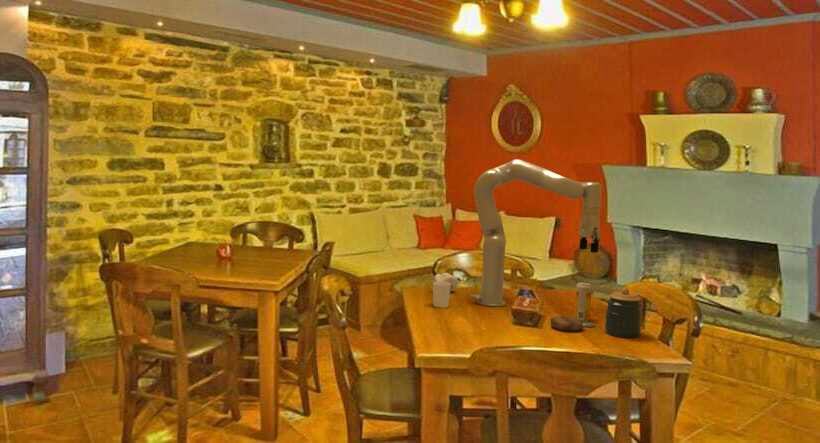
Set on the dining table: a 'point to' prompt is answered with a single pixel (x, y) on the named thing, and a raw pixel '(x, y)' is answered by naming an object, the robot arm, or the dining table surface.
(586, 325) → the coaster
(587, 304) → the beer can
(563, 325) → the stand
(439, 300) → the white cup
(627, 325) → the canister
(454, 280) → the grey rounded block
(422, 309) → the dining table surface
